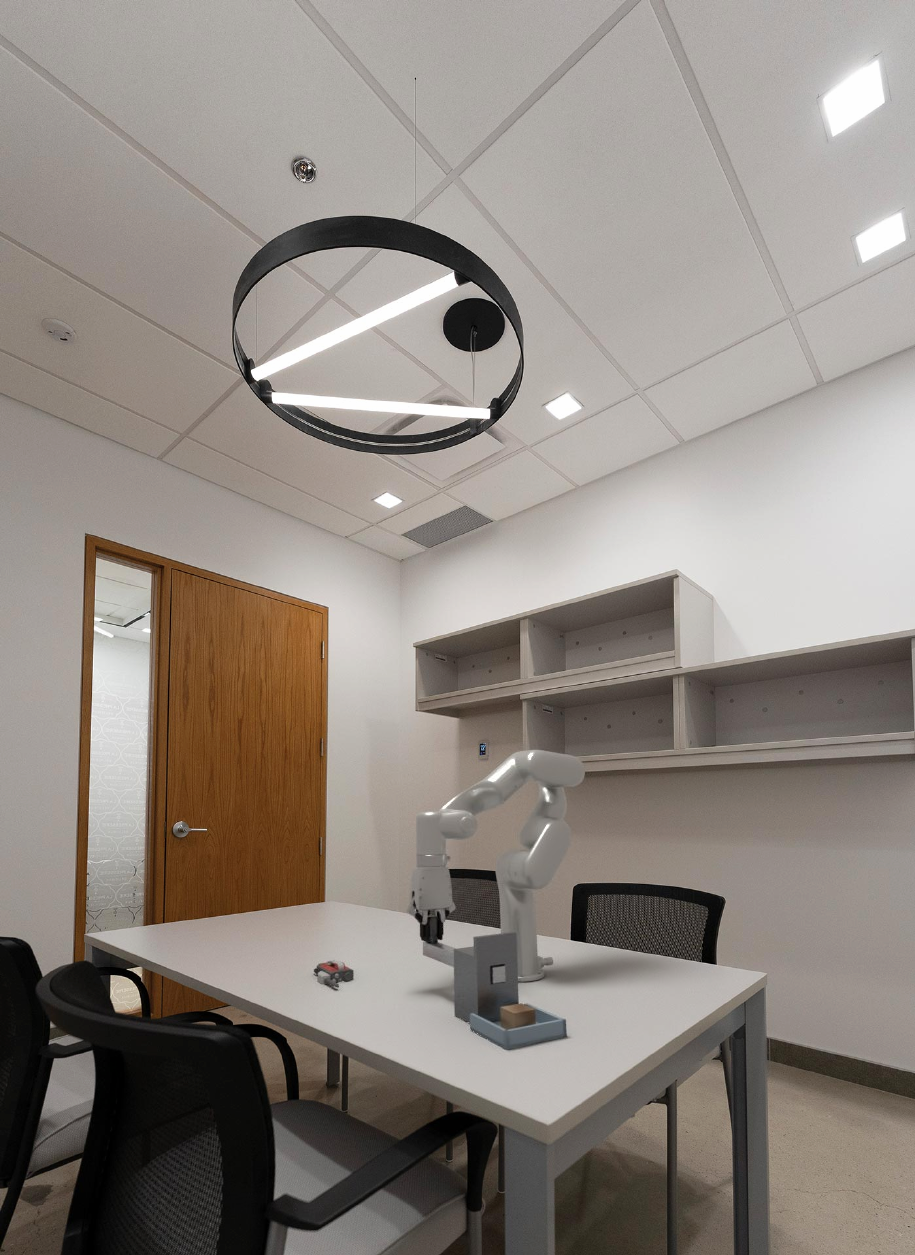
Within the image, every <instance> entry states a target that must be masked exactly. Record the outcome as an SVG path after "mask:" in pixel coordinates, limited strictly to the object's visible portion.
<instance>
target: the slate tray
mask: <svg viewBox="0 0 915 1255" xmlns="http://www.w3.org/2000/svg"><path fill="white" fill-rule="evenodd" d="M524 1005H526V1006H529V1007H531V1008H533V1009H535V1015H536V1024H534V1025H529V1026H524V1027H519V1028H514V1029H509V1030H506V1029H504V1028H502V1027H501V1021H498V1022H493V1023H492V1022H490V1021H488V1020H486V1019H484V1018H482V1017H480V1016H478V1015H476V1014H474V1013H472V1014H470V1024H469V1030H470V1029H471V1030H472V1031H471V1030H470V1031H471V1032H473V1031H474V1032H475V1033H474V1032H473V1033H474V1034H476V1033H478V1034H479V1035H478V1034H477V1035H478V1036H480V1035H481V1036H480V1037H482V1038H484V1039H485V1038H486V1039H485V1040H487V1039H488V1041H489V1040H490V1041H489V1042H491V1043H493V1044H495V1045H497V1046H498V1047H500V1048H502V1049H504V1050H512V1049H516V1048H520V1047H521V1048H522V1047H525V1046H530V1045H533V1044H539V1043H543V1042H548V1041H552V1040H553V1041H554V1040H557V1039H562V1038H563V1039H564V1038H566V1037H567V1036H568V1035H567V1034H568V1033H567V1019H566V1018H563V1017H560V1016H558V1015H556V1014H553V1013H551V1012H549V1011H546V1010H544V1009H542V1008H539V1007H537V1006H535V1005H532V1004H529V1003H524Z"/></svg>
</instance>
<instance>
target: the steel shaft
mask: <svg viewBox="0 0 915 1255" xmlns="http://www.w3.org/2000/svg"><path fill="white" fill-rule="evenodd" d="M427 924H429V941H428V942H425V941H422V956H425V957H427V958H430V959H432V960H435V961H437V962H439V963H442V964H445V965H447V966H449V967H452V968H454V949H457V948H456V947H454V946H450V945H448V944H445V943H442V942H439V940H438V916H436V915H427ZM490 979H491V983H493V984H494V983H500V982H505V966H504V965H501V964H500V965H493V966H490Z"/></svg>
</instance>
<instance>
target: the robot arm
mask: <svg viewBox="0 0 915 1255" xmlns="http://www.w3.org/2000/svg"><path fill="white" fill-rule="evenodd" d="M585 773H586V768H585V766H584V763H583V762H582V760H580V758H578V757H576V756H574V755H571V754H566V753H559V752H554V751H547V750H542V749H530V750H529V749H528V750H520V751H516V752H514V753H512V754H510V756H508V757H507V758H506V759H505V760H504V761H503V762H502V763H501V764H499V765H498V766H496V768H495V769H494V770H492V771H491V772H490V773H489V774H488V775H487V776H486V777H484V778H483V779H481V780H480V781H478V782H476V783H475V784H473V785H472V786H470V787H469V788H467V789H465V790H463V791H462V792H460V793H458V794H457V795H455V796H454V797H453V798H452V799H450V800H449V801H448V802H447V803H445V805H444V806H442V807H441V808H440V809H439V810H438V811H435V810H434V811H431V810H429V811H420V812H419V813H417V815H416V820H415V822H416V824H415V825H416V827H415V829H416V830H415V831H416V834H415V838H416V840H415V841H416V844H415V845H416V846H415V847H416V856H415V857H416V859H415V862H416V863H415V864H416V865H415V866H416V867H413V868H412V873H411V877H410V878H411V879H410V887H409V902H408V903H409V905H408V907H407V909H406V914H408V915H410V916H412V917H413V918H414V919H415V920H416V921H417V923H419V936H420V939H421V941H422V942H428V941H429V924H427V916H429V915H428V912H429V911H435V916H438V941H443V936H444V923H445V922H446V919H447V918H448V916H449V915H450V914H451V913H452V912H453V911H455V910H456V907H457V906H456V905H455V902H454V900H453V888H452V881H451V874H450V869H449V866H447V863H449V862H451V856H450V855H448V854H447V840H456V841H457V840H458V841H465V840H466V841H467V840H468V839H471V838H472V837H473V836H474V835H475V833H476V832H477V830H478V821H477V818H476V817H475V816H477V815H479V814H480V813H483V812H484V813H485V812H487V811H490V810H492V809H496V808H498V807H500V806H502V805H504V804H505V803H507V801H508V800H510V799H511V798H512V797H513V796H514V795H515V794H516V793H517V792H519V790H520V789H521V788H523V787H524V786H525V785H526V784H527V783H529V782H536V783H537V786H538V792H539V793H538V794H539V795H538V799H537V801H536V802H535V805H534V807H533V809H532V811H530V813H529V815H528V817H527V819H526V821H524V824H523V825H522V827H521V828H520V832H519V836H518V838H519V840H518V841H519V844H520V845H521V847H522V848H524V849H518V848H515V849H513V848H512V849H507V850H505V851H503V852H502V853H501V854H500V855H499V856H498V858H497V859H496V863H495V876H496V882H497V887H498V892H499V910H500V911H499V912H500V913H499V914H500V915H499V916H500V918H499V919H500V933H508V932H516V935H517V966H518V983H519V982H521V983H522V982H524V983H525V982H533V981H540V980H541V979H544V977H545V970H543V968H544V967H545V966H547V967H548V966H552V965H554V958H553V957H552V956H550V957H549V956H548V957H543V956H539V955H538V952H539V951H538V932H537V930H538V929H537V926H538V925H537V904H536V897H535V894H534V891H535V890H536V891H538V890H542V889H545V888H546V887H547V886H548V885H550V883H551V881H552V880H553V879H554V877H555V875H556V873H557V872H558V870H559V868H560V866H561V864H562V863H563V861H564V859H565V858H566V856H567V854H568V851H569V850H570V847H571V843H572V831H571V828H570V826H569V825H568V823H567V822H566V821H565V820H564V818H565V816H566V813H567V811H568V802H567V795H566V792H565V788H571V787H572V788H573V787H576V786H579V785H580V784H582V782H583V780H584V779H585V775H586V774H585Z"/></svg>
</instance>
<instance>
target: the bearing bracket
mask: <svg viewBox="0 0 915 1255" xmlns="http://www.w3.org/2000/svg"><path fill="white" fill-rule="evenodd" d="M472 939H473V946H466V947H460V948H456V949H454V967H453V983H454V984H453V991H454V992H453V996H454V997H453V998H454V999H453V1001H454V1002H453V1003H454V1006H453V1009H454V1017H456V1016H457V1017H456V1018H458V1019H460V1018H461V1019H460V1020H462V1019H463V1020H465V1021H468V1022H469V1023H470V1014H472V1013H474V1014H476V1015H478V1016H480V1017H482V1018H484V1019H486V1020H488V1021H490V1022H492V1023H493V1022H498V1021H501V1011H500V1007H504V1006H509V1005H515V1004H520V1002H519V1000H520V999H519V998H520V997H519V982H518V966H517V935H516V932H508V933H501V932H500V933H493V934H485V935H478V936H473V938H472ZM500 964H501V965H504V966H505V982H500V983H494V984H493V983H491V979H490V966H493V965H500ZM463 1020H462V1021H463ZM465 1021H464V1022H465ZM469 1023H468V1024H469Z"/></svg>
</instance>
